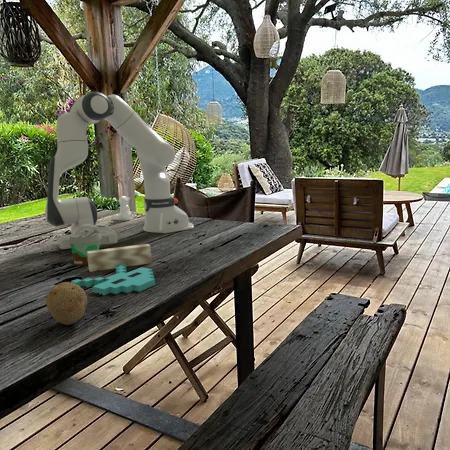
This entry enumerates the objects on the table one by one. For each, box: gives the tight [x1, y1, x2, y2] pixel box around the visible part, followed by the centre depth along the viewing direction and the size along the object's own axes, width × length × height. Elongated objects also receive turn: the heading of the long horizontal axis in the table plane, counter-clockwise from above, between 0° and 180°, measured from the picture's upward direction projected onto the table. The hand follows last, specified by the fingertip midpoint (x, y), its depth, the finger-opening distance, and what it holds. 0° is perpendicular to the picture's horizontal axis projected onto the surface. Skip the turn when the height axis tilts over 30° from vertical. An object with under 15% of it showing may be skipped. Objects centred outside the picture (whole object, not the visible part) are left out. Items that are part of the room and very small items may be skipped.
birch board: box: [87, 243, 152, 272], centre depth 149 cm, size 20×3×6 cm, turn 114°
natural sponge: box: [45, 281, 88, 326], centre depth 105 cm, size 9×9×10 cm
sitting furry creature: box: [112, 195, 133, 222], centre depth 225 cm, size 10×9×12 cm
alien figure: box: [70, 263, 156, 296], centre depth 134 cm, size 20×2×20 cm
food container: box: [69, 230, 101, 267], centre depth 153 cm, size 12×6×10 cm, turn 153°
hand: (91, 244), depth 158 cm, fingers closed
